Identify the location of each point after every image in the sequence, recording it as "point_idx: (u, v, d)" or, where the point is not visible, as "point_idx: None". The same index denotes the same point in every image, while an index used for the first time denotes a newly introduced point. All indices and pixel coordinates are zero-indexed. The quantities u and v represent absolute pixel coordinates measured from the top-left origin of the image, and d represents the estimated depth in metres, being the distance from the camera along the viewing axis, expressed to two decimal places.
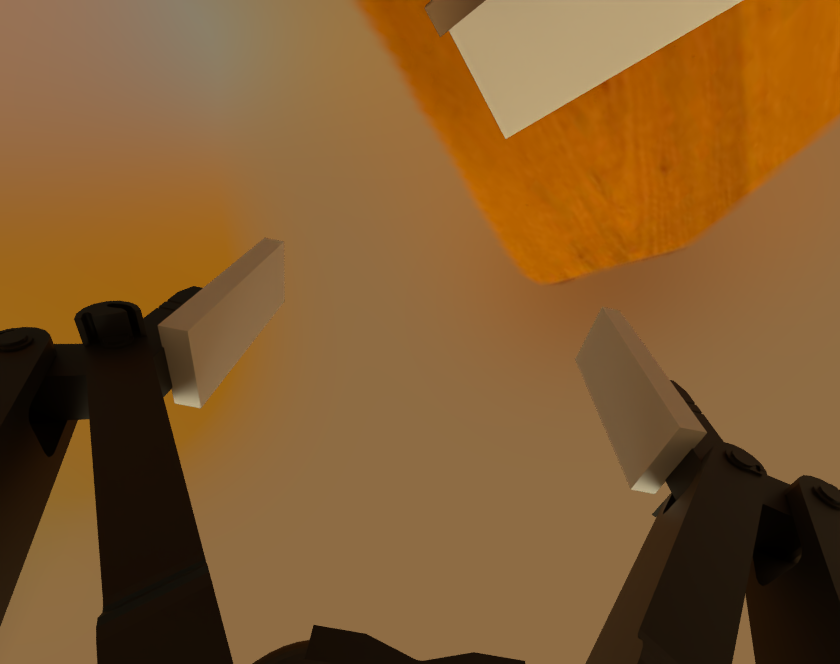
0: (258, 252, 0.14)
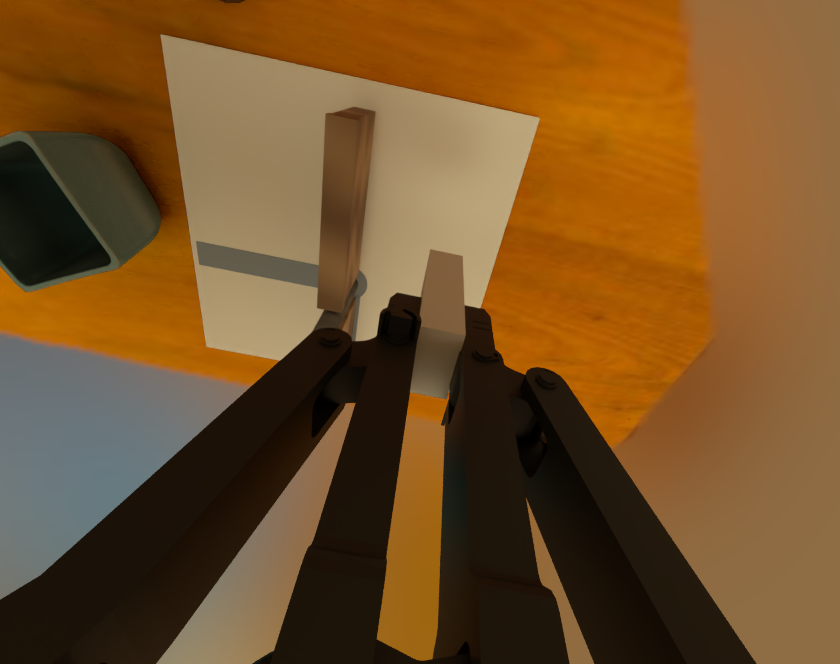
0: (436, 262, 0.16)
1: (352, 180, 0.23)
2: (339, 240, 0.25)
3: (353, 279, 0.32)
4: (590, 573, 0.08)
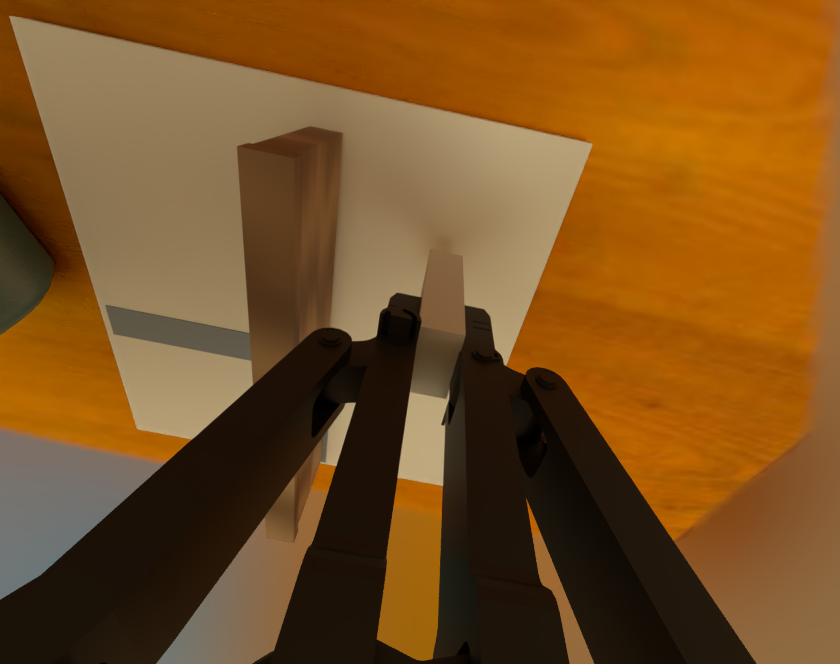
0: (436, 262, 0.16)
1: (293, 253, 0.14)
2: (280, 338, 0.16)
3: None
4: (590, 573, 0.08)
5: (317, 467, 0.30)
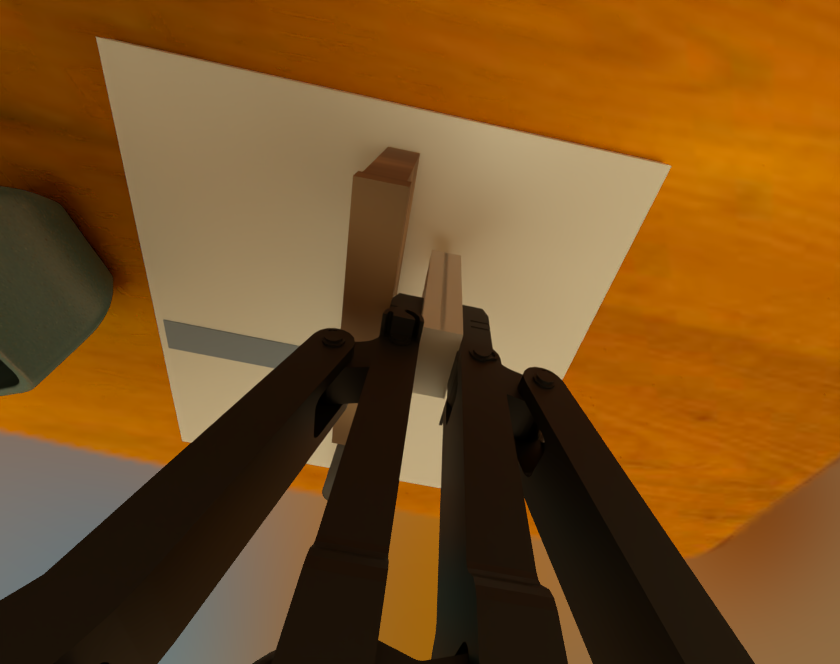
0: (438, 263, 0.16)
1: (394, 277, 0.14)
2: None
3: None
4: (588, 573, 0.08)
5: None
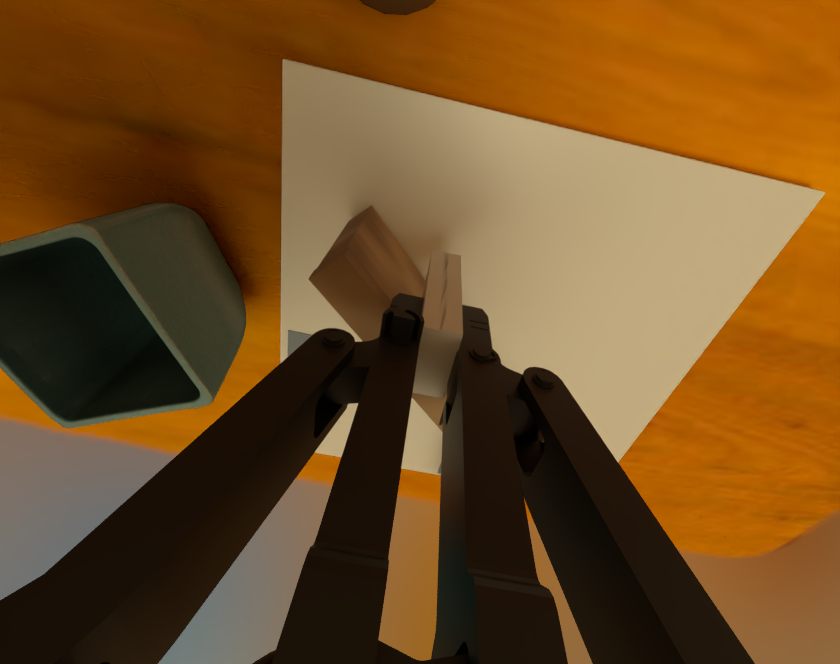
0: (438, 263, 0.16)
1: None
2: None
3: None
4: (588, 572, 0.08)
5: None
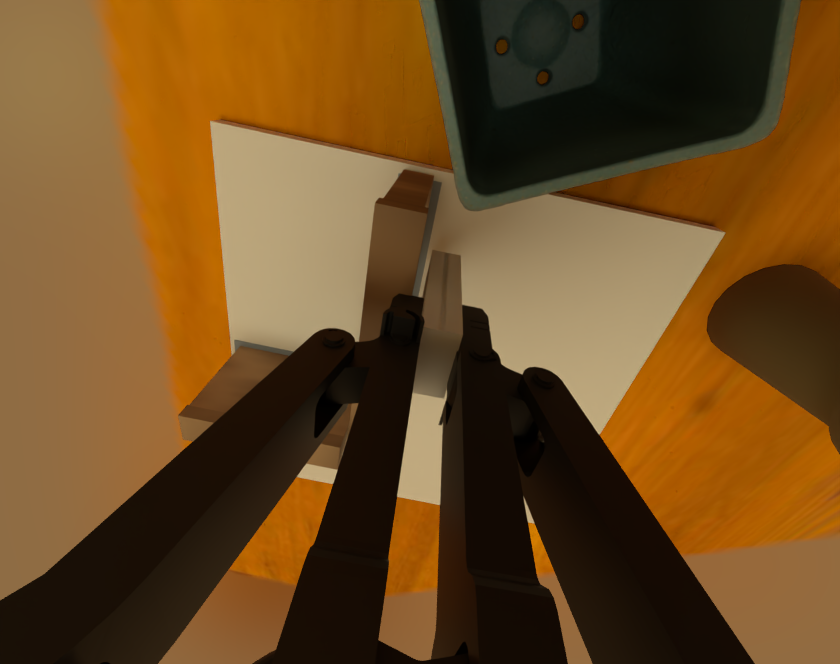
0: (438, 263, 0.16)
1: None
2: None
3: None
4: (588, 572, 0.08)
5: None
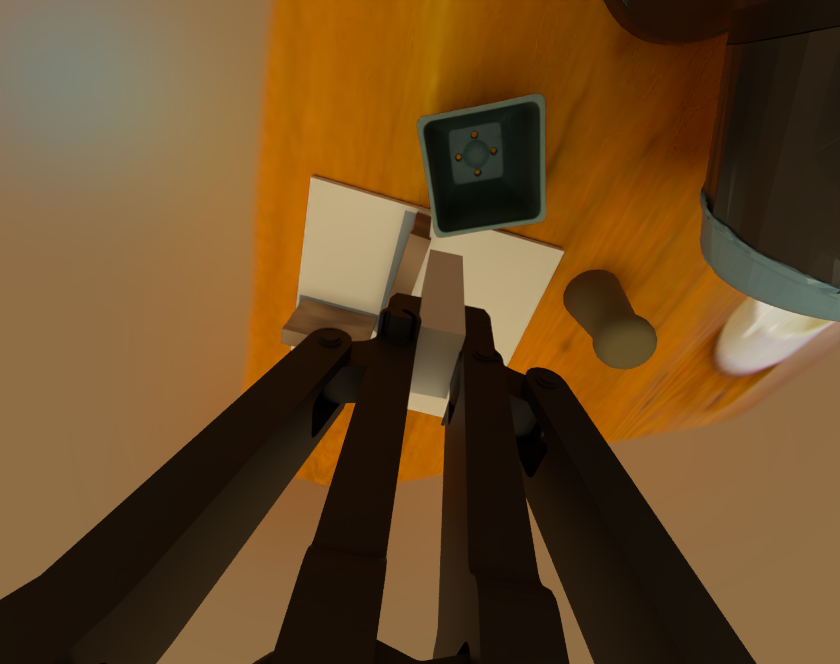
0: (436, 262, 0.16)
1: (418, 273, 0.34)
2: None
3: None
4: (590, 573, 0.08)
5: None
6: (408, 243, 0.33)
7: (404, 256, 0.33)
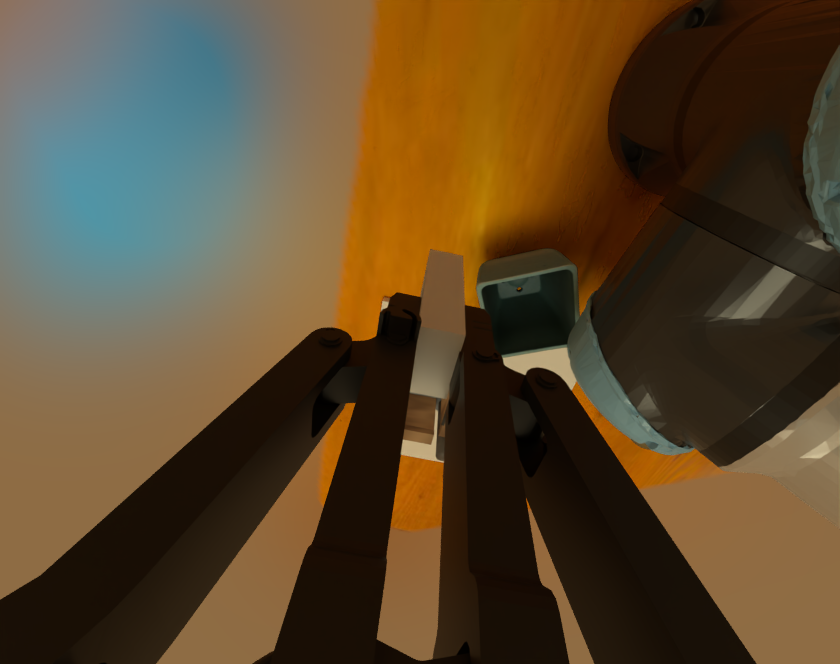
0: (436, 262, 0.16)
1: None
2: None
3: None
4: (590, 573, 0.08)
5: None
6: None
7: None
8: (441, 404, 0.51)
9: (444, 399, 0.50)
